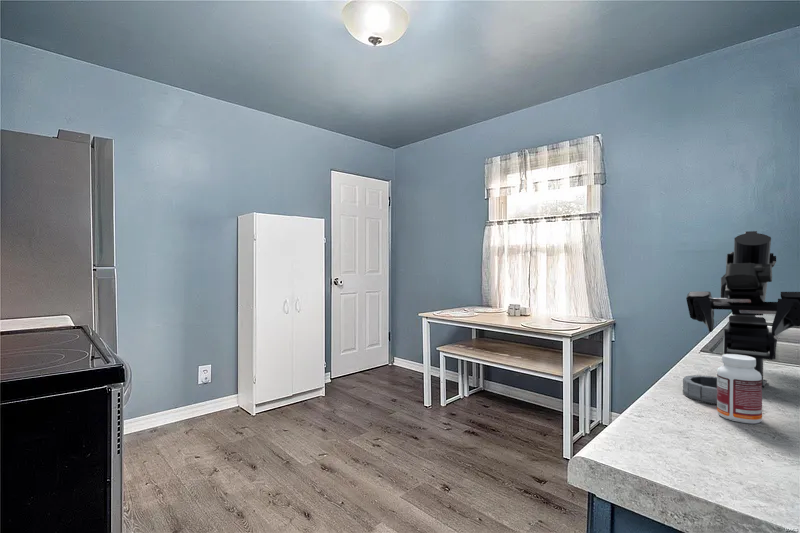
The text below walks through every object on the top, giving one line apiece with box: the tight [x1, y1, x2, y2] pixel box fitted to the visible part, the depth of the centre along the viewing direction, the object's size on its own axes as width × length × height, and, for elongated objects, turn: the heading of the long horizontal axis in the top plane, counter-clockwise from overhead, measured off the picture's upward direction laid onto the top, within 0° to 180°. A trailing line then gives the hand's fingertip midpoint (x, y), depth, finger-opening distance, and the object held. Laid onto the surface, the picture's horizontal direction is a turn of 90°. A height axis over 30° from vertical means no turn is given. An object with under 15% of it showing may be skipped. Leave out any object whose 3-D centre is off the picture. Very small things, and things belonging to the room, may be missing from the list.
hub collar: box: [682, 374, 717, 406], centre depth 82 cm, size 11×11×3 cm
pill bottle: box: [716, 353, 763, 425], centre depth 72 cm, size 6×6×11 cm
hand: (740, 331), depth 75 cm, fingers open, 9 cm apart
